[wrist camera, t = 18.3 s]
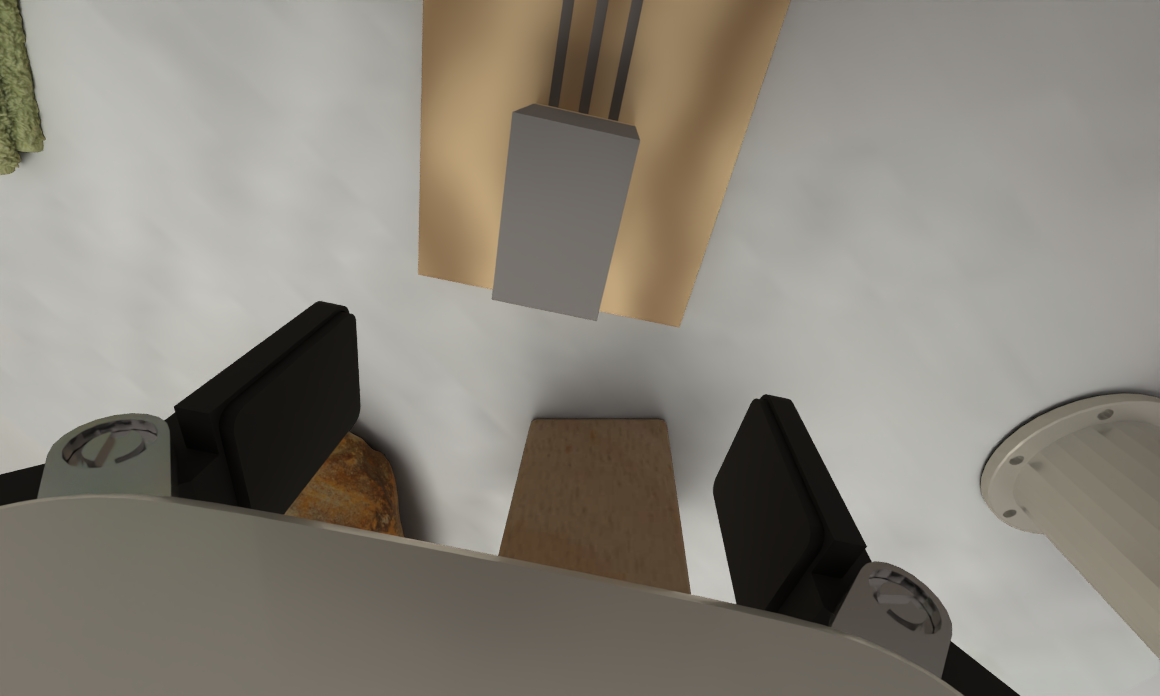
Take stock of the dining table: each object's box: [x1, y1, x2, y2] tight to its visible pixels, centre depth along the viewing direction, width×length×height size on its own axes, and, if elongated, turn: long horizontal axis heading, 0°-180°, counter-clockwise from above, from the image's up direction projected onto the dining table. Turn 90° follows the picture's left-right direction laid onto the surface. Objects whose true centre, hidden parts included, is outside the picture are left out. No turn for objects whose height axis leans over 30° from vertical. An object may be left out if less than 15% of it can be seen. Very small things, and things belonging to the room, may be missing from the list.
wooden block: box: [498, 419, 691, 594], centre depth 29 cm, size 10×10×20 cm
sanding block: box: [492, 103, 640, 321], centre depth 23 cm, size 5×8×6 cm, turn 169°
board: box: [418, 0, 791, 327], centre depth 24 cm, size 16×22×2 cm
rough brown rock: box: [284, 432, 405, 538], centre depth 36 cm, size 23×17×15 cm
